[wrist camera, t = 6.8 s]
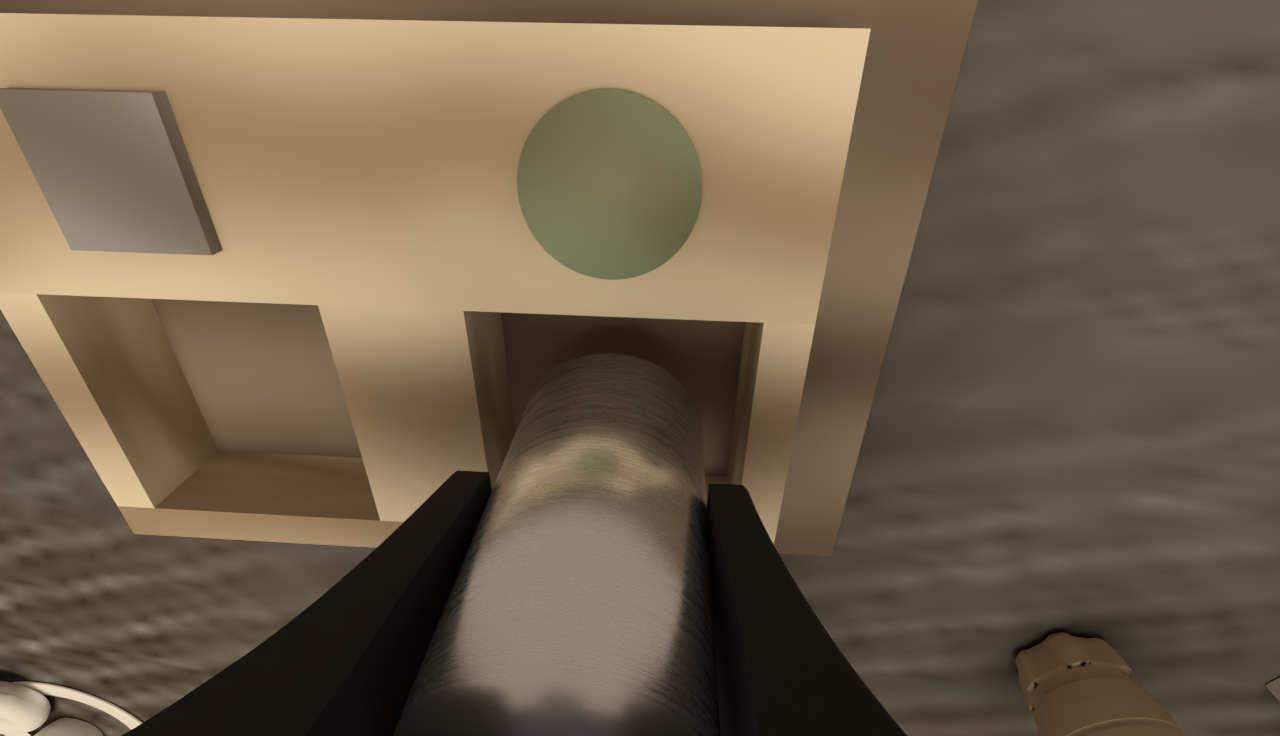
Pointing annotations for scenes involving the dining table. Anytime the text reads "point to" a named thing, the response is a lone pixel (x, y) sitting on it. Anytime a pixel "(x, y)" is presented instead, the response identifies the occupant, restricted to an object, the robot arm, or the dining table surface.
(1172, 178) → the dining table surface
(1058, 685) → the handle
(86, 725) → the teacup and saucer
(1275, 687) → the stool
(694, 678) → the peg
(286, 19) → the socket block
